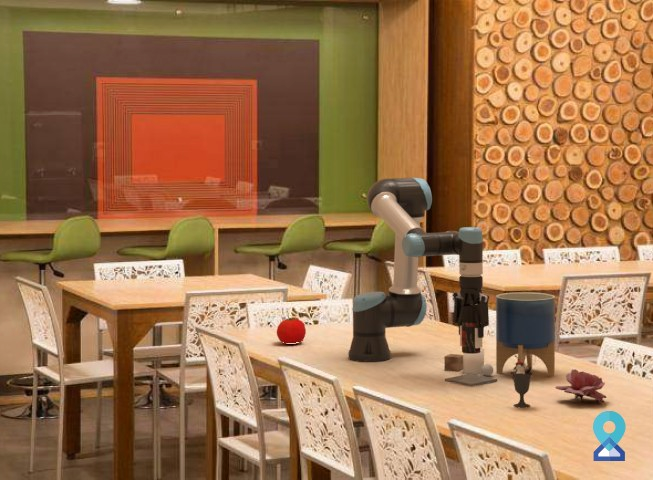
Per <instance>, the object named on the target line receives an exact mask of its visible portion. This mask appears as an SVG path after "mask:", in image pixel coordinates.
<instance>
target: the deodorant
mask: <svg viewBox="0 0 653 480" xmlns="http://www.w3.org/2000/svg"><path fill="white" fill-rule="evenodd" d="M476 327H477V325H476V320H475V307H471V305H468V306H462V346H461V353H462V354H463V353H468V354H475V353H480V348H475V328H476Z"/></svg>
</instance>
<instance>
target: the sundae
mask: <svg viewBox="0 0 653 480" xmlns="http://www.w3.org/2000/svg"><path fill="white" fill-rule="evenodd" d="M514 357H515V358H516V360H517V362H515V366H514V367H513V368H512V371H510V374H511V375H512V378H513V384H514V390H515V392H516V393H517V394H518V395H519V401H518V403H515V404H513V407H514V406H515V407H514V408H518V407H520V409H523V408H525V409H526V407H527V408H530V407H531V405H530V404H528V403H526V402H525V399H524V396H525V394H527V393H528V392H529V390H530V384H531V377H532V375H533V374H534V371H532V370H531V367H529V368H528V366H527V363H525V362H524V363H522V362H521V361H520V360H519V362H518V359H519V358H518V354H515V355H514Z"/></svg>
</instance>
